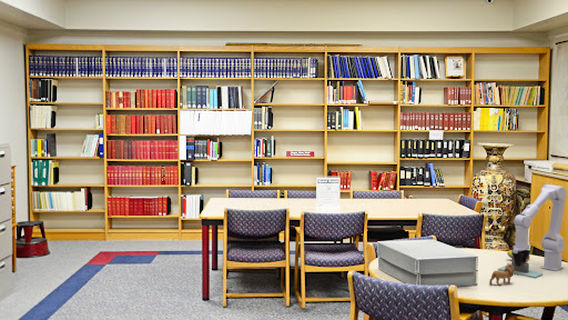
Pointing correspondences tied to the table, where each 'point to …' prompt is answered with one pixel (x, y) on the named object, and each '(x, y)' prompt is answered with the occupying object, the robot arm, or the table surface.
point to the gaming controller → (512, 255)
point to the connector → (520, 267)
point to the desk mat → (530, 274)
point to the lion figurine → (503, 274)
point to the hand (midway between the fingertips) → (520, 264)
